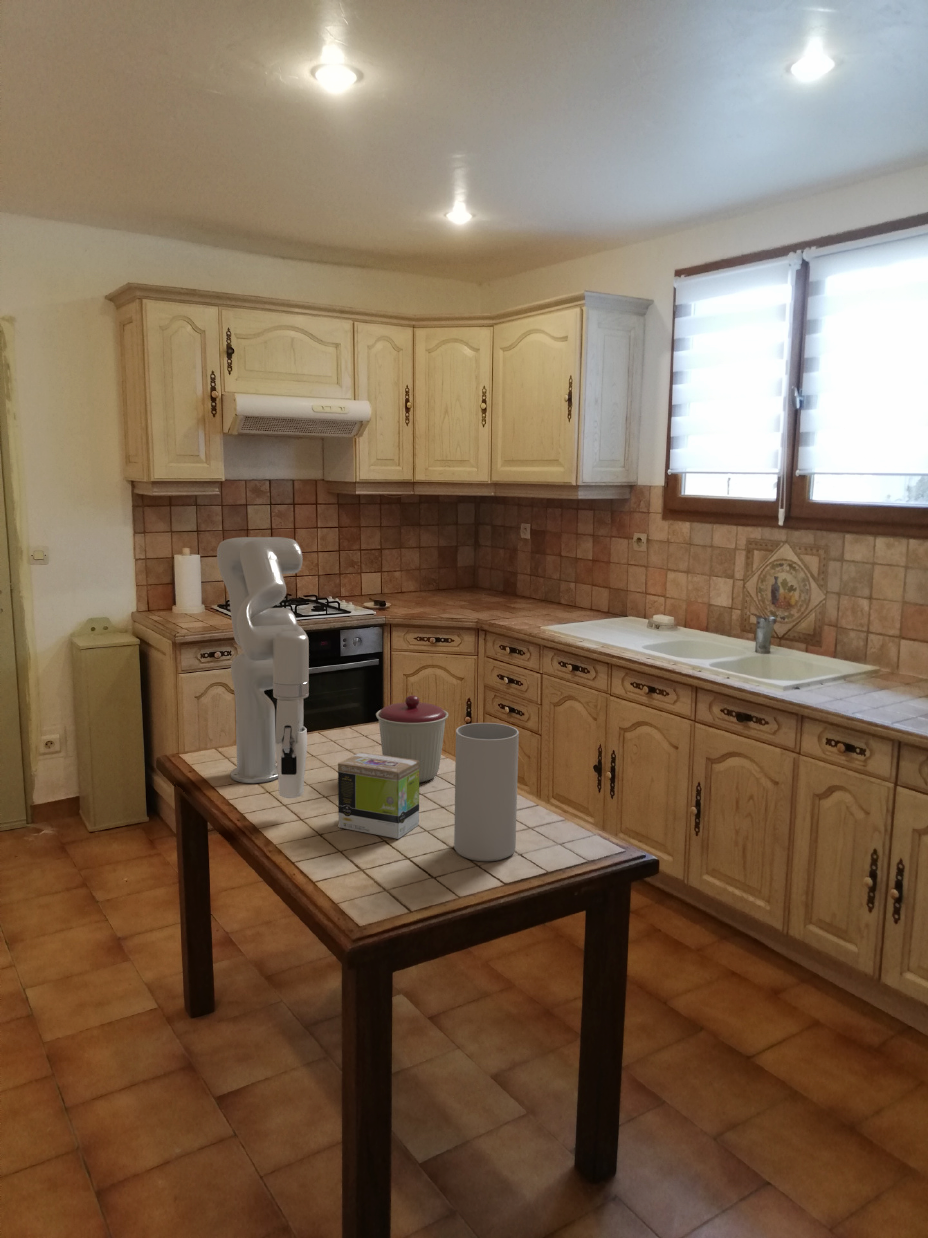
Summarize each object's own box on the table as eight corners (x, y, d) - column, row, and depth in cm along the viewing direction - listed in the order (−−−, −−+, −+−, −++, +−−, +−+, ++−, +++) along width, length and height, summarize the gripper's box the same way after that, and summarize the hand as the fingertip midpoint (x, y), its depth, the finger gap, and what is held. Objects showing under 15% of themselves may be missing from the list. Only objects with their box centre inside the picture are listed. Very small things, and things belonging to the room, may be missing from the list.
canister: (434, 763, 240) (435, 685, 236) (457, 784, 223) (458, 701, 220) (367, 769, 233) (368, 690, 230) (386, 792, 216) (387, 707, 213)
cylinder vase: (455, 837, 190) (457, 722, 186) (514, 839, 189) (517, 723, 186) (452, 862, 177) (454, 739, 174) (516, 864, 177) (519, 740, 173)
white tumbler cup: (299, 802, 194) (300, 735, 191) (270, 798, 195) (270, 732, 193) (311, 791, 201) (311, 726, 198) (282, 787, 202) (282, 723, 199)
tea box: (420, 825, 196) (421, 759, 194) (398, 841, 187) (398, 772, 185) (361, 813, 203) (361, 749, 200) (336, 828, 194) (336, 762, 191)
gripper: (279, 678, 202) (279, 755, 205) (266, 699, 185) (267, 782, 188) (313, 679, 202) (312, 755, 206) (303, 700, 185) (303, 783, 189)
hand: (291, 767), depth 197 cm, fingers closed on white tumbler cup, 6 cm apart
